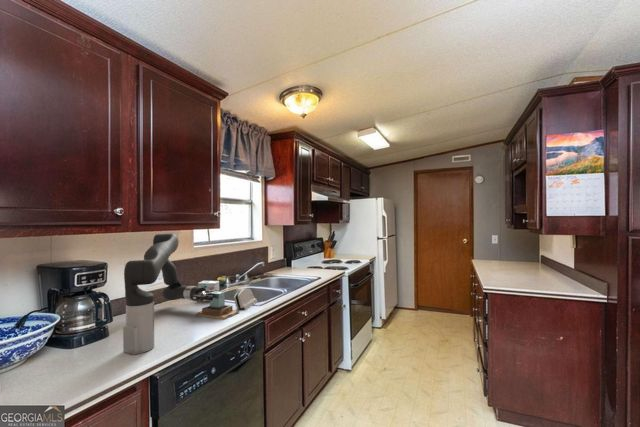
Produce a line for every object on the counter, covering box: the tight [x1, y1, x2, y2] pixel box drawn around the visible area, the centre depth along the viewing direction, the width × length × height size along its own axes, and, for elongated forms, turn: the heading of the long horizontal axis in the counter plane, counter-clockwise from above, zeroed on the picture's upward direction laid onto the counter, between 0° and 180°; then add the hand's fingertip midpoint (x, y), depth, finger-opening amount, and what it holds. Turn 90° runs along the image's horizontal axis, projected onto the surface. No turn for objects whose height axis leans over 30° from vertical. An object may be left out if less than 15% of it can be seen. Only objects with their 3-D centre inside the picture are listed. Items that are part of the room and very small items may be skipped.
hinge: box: [233, 288, 258, 311], centre depth 173 cm, size 17×5×10 cm, turn 169°
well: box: [195, 304, 240, 320], centre depth 157 cm, size 11×18×4 cm, turn 66°
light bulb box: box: [197, 280, 220, 302], centre depth 186 cm, size 11×7×11 cm, turn 83°
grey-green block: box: [209, 291, 226, 310], centre depth 157 cm, size 4×6×10 cm, turn 66°
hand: (218, 296), depth 157 cm, fingers open, 8 cm apart
